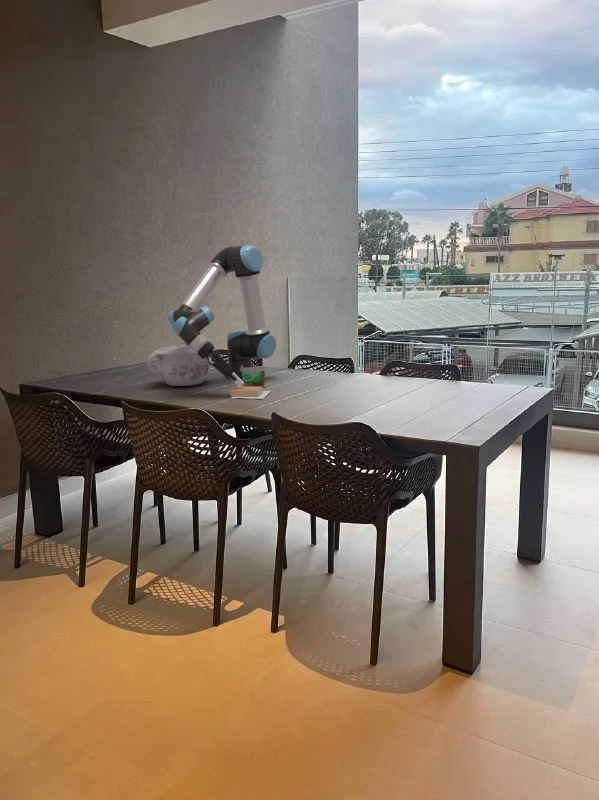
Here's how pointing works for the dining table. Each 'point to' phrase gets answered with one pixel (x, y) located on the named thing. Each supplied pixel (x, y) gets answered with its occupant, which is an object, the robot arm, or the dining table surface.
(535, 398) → the dining table surface
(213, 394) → the dining table surface
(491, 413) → the dining table surface
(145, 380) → the dining table surface
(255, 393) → the tile
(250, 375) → the food container
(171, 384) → the chamber pot
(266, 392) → the mat
